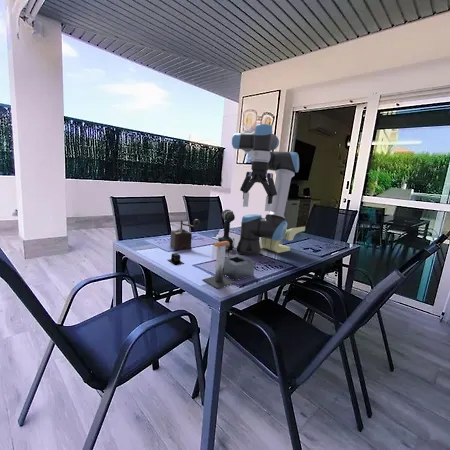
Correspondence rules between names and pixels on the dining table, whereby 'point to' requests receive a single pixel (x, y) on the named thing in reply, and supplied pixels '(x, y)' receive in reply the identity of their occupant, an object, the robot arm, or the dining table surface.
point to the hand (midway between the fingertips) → (255, 208)
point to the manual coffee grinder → (182, 237)
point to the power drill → (227, 228)
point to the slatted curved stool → (274, 244)
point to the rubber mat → (216, 284)
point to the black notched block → (175, 259)
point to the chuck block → (238, 267)
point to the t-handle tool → (220, 260)
